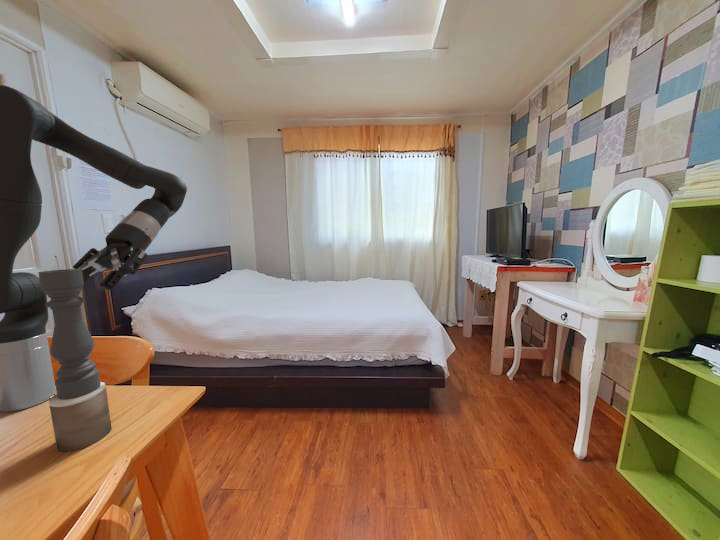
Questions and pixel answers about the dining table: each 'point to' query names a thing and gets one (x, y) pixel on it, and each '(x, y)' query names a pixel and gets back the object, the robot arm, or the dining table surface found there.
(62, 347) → the candle holder
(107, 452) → the dining table surface
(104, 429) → the gray cylinder
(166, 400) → the dining table surface
